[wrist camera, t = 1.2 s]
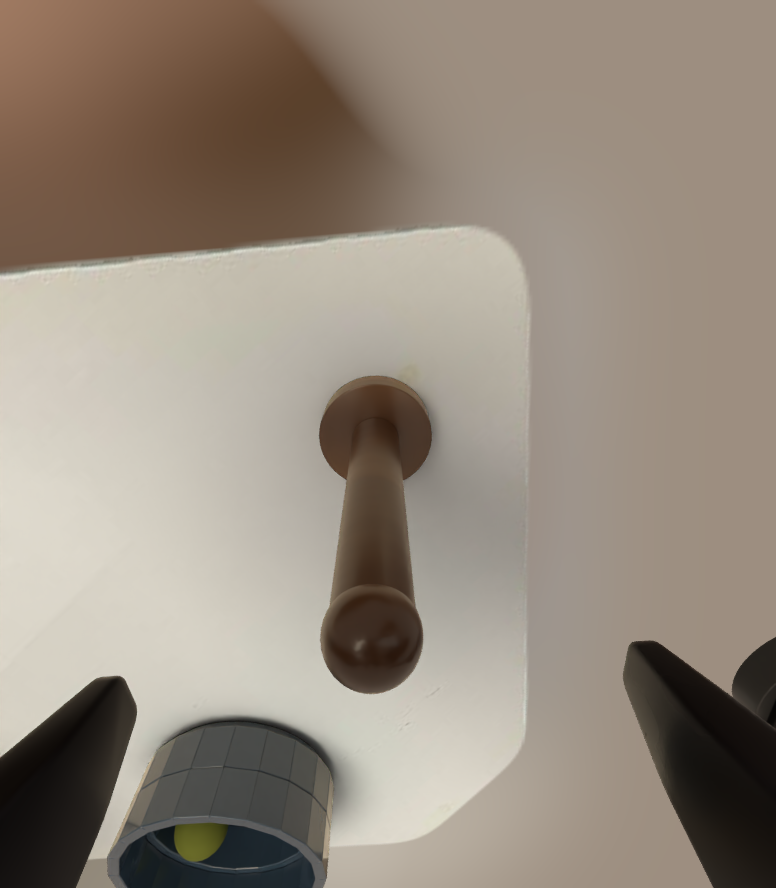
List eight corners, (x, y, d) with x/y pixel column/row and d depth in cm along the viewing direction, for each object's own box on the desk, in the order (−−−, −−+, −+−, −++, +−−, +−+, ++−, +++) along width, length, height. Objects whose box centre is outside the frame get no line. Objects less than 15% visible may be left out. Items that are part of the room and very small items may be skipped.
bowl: (343, 819, 30) (337, 921, 26) (179, 829, 30) (144, 933, 26) (321, 708, 26) (308, 809, 21) (127, 721, 26) (74, 824, 21)
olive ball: (239, 810, 29) (224, 870, 26) (192, 813, 29) (173, 874, 26) (229, 782, 27) (212, 842, 25) (180, 785, 27) (158, 845, 25)
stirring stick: (430, 470, 19) (493, 751, 9) (329, 477, 20) (269, 765, 9) (426, 371, 18) (500, 572, 7) (315, 379, 18) (217, 592, 7)
